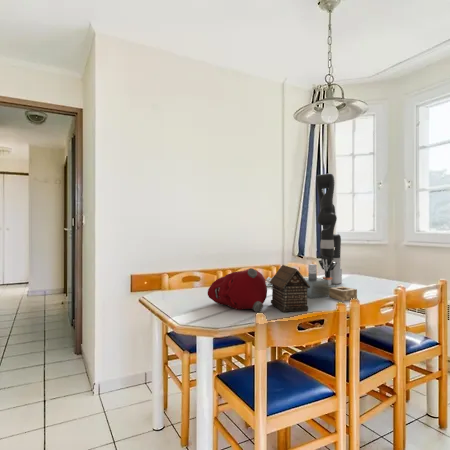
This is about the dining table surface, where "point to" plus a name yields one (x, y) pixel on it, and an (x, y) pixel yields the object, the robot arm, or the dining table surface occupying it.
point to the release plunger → (328, 280)
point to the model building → (289, 290)
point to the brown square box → (343, 293)
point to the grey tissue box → (318, 288)
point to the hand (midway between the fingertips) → (327, 277)
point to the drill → (312, 271)
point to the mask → (240, 290)
